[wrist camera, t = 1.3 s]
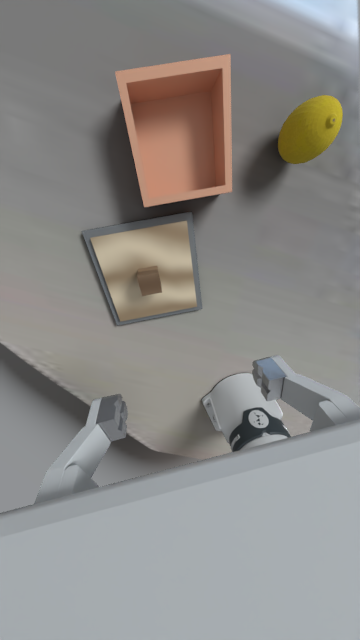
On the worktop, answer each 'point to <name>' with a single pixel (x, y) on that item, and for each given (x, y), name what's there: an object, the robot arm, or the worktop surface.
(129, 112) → the salmon open box
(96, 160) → the worktop surface
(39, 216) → the worktop surface
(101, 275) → the mat
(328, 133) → the lemon
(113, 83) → the worktop surface
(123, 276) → the lid
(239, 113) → the worktop surface
